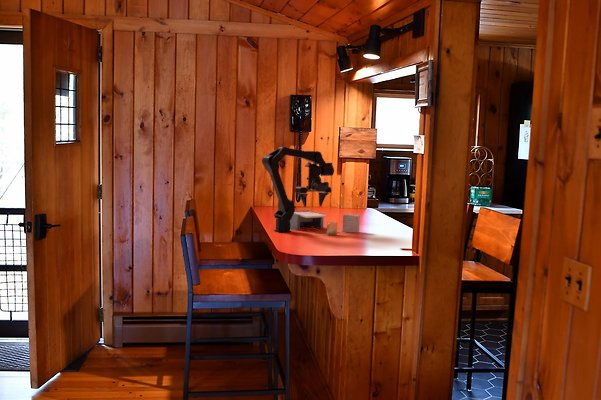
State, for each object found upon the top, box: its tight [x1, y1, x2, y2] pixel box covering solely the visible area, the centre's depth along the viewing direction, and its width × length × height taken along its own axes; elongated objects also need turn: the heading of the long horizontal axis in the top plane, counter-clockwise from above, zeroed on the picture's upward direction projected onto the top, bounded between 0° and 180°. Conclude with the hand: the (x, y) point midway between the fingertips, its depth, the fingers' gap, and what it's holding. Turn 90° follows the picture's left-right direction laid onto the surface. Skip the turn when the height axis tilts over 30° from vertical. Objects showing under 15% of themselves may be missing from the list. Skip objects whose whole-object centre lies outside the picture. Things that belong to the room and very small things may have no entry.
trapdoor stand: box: [290, 209, 325, 231], centre depth 344 cm, size 16×15×8 cm
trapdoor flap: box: [294, 211, 328, 222], centre depth 340 cm, size 12×18×5 cm
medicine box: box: [341, 213, 360, 234], centre depth 335 cm, size 8×4×9 cm, turn 74°
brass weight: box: [326, 221, 338, 237], centre depth 323 cm, size 5×5×6 cm
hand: (312, 206), depth 336 cm, fingers open, 9 cm apart
